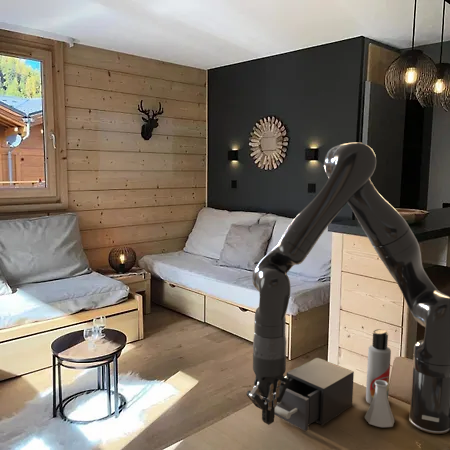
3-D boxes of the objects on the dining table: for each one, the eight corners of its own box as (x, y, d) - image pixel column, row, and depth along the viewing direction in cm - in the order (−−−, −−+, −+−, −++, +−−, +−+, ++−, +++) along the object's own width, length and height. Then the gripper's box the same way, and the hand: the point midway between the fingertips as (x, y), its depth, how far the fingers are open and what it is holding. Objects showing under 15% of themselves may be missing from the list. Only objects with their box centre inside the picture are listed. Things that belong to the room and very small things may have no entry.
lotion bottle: (388, 408, 119) (392, 335, 116) (365, 405, 120) (369, 333, 117) (387, 397, 124) (391, 328, 121) (365, 394, 126) (369, 325, 123)
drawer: (293, 438, 104) (294, 407, 103) (260, 419, 112) (261, 390, 110) (335, 411, 115) (336, 382, 114) (302, 396, 123) (303, 369, 122)
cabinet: (322, 425, 111) (323, 388, 109) (285, 406, 119) (286, 372, 118) (352, 405, 120) (353, 371, 119) (316, 389, 128) (317, 357, 127)
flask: (397, 430, 109) (399, 391, 108) (365, 426, 110) (367, 388, 109) (392, 414, 116) (394, 377, 115) (362, 410, 117) (364, 374, 116)
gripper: (262, 365, 95) (261, 441, 98) (300, 348, 104) (298, 417, 107) (237, 354, 101) (236, 426, 103) (275, 339, 110) (274, 405, 112)
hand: (268, 422), depth 105 cm, fingers closed
